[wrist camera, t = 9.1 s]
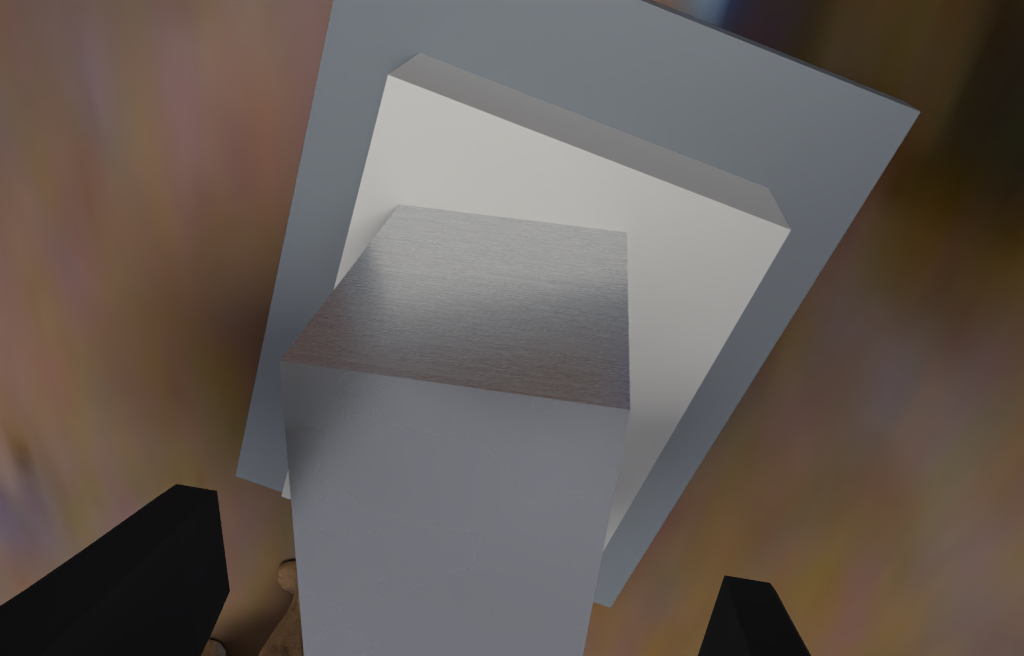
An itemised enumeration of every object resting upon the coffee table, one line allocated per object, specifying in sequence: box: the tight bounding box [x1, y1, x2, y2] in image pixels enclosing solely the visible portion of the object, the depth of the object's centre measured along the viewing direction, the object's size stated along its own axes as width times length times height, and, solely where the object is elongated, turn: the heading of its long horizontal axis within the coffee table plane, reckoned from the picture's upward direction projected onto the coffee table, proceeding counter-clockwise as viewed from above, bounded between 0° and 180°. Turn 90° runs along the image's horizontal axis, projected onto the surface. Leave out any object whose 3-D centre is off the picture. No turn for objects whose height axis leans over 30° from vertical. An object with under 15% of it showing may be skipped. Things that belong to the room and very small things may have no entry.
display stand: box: [236, 0, 920, 608], centre depth 18 cm, size 12×16×4 cm
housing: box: [279, 204, 630, 656], centre depth 14 cm, size 4×7×6 cm, turn 175°
